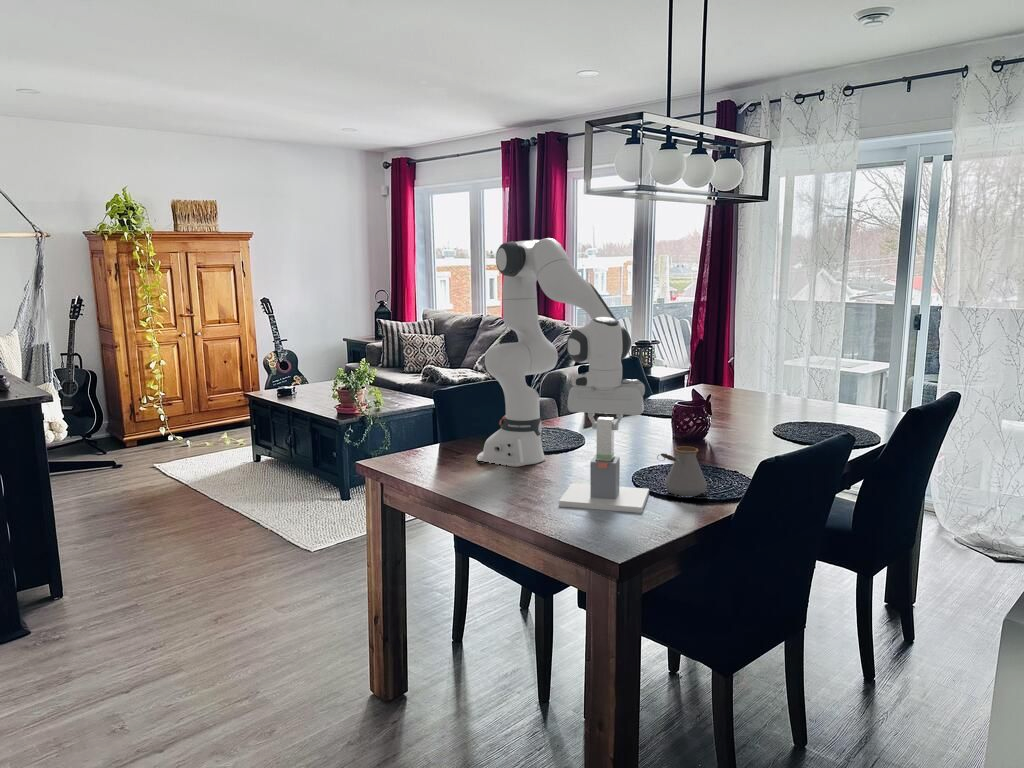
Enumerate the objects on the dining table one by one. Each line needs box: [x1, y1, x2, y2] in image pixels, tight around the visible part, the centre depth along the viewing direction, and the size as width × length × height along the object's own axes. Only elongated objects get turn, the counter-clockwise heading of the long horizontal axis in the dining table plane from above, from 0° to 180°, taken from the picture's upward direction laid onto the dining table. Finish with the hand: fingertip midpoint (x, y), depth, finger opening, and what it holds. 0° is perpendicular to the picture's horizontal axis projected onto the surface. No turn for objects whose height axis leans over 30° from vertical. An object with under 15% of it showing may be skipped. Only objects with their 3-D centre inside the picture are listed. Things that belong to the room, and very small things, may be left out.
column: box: [595, 416, 615, 462], centre depth 198 cm, size 4×4×16 cm
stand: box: [558, 454, 650, 514], centre depth 200 cm, size 22×16×12 cm
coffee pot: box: [656, 445, 708, 496], centre depth 200 cm, size 21×12×15 cm, turn 142°
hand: (605, 429), depth 197 cm, fingers closed on column, 4 cm apart
